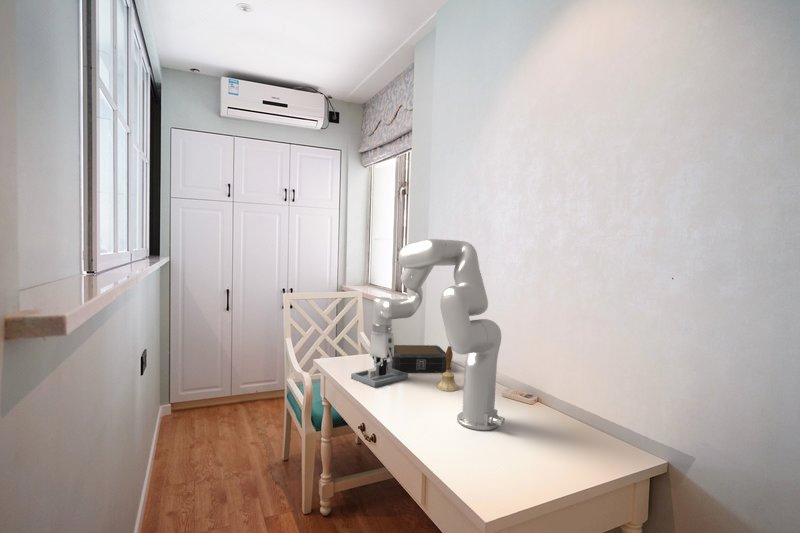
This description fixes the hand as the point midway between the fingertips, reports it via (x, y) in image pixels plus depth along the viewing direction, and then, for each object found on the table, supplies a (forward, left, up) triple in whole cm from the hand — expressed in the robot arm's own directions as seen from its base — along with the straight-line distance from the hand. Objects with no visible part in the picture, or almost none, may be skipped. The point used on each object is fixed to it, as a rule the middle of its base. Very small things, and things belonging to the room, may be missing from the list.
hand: (380, 374), depth 166 cm
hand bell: (-24, -13, -2) cm, 27 cm away
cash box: (+3, -25, -2) cm, 25 cm away
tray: (0, 0, -2) cm, 2 cm away
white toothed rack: (0, 0, -1) cm, 1 cm away
